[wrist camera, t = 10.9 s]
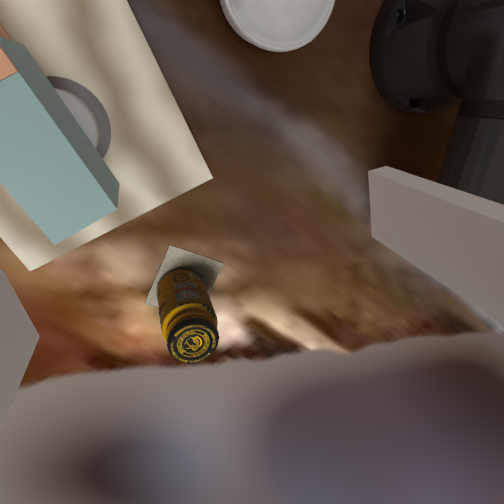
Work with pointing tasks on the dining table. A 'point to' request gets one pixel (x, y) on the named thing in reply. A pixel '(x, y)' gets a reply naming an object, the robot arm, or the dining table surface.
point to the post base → (103, 112)
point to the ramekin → (277, 21)
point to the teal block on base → (50, 149)
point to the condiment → (186, 304)
